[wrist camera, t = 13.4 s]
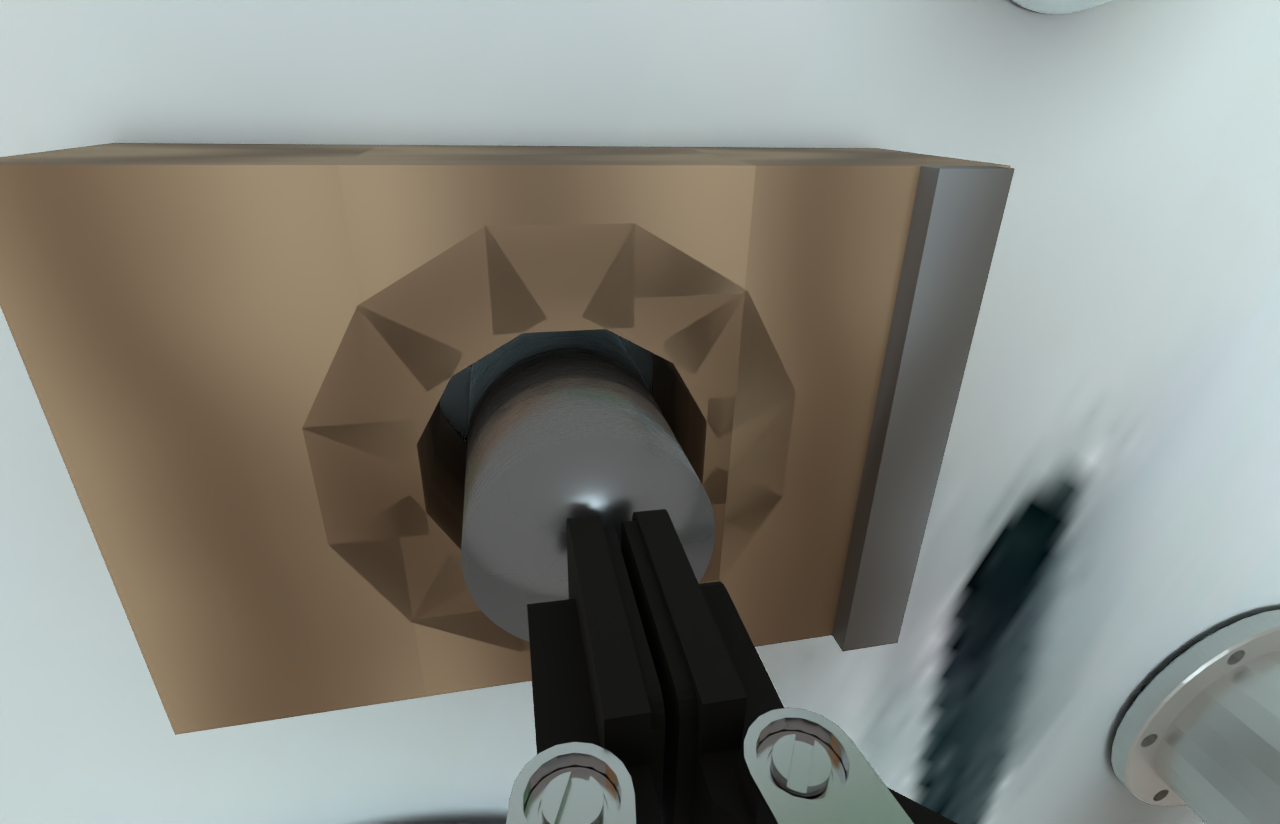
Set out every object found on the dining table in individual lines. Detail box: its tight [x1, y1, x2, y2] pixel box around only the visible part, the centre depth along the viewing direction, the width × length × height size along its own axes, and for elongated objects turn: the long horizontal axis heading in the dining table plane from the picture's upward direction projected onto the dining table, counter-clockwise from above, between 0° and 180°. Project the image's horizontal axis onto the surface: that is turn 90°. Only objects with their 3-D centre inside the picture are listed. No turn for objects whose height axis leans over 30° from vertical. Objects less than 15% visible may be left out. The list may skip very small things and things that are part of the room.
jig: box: [0, 143, 1014, 735], centre depth 16 cm, size 18×12×6 cm, turn 89°
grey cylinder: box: [461, 329, 715, 641], centre depth 15 cm, size 4×4×8 cm
